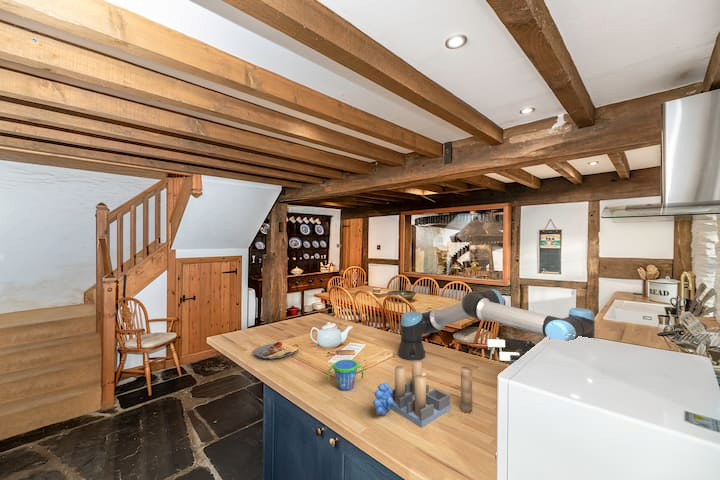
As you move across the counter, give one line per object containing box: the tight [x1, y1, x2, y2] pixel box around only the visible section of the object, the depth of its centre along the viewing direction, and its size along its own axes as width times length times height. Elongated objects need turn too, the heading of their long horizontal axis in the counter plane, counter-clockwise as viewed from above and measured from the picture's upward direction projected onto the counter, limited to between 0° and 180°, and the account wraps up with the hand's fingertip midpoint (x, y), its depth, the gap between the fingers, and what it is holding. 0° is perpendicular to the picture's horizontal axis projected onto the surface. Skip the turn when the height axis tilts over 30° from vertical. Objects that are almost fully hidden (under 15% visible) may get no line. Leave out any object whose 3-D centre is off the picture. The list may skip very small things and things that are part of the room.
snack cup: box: [327, 359, 364, 391], centre depth 133 cm, size 16×11×10 cm
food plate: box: [253, 341, 299, 360], centre depth 173 cm, size 25×23×4 cm
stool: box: [390, 360, 452, 428], centre depth 116 cm, size 17×17×15 cm
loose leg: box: [460, 366, 473, 414], centre depth 114 cm, size 4×4×16 cm
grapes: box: [372, 382, 394, 417], centre depth 111 cm, size 12×7×12 cm, turn 145°
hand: (493, 349), depth 113 cm, fingers open, 13 cm apart
